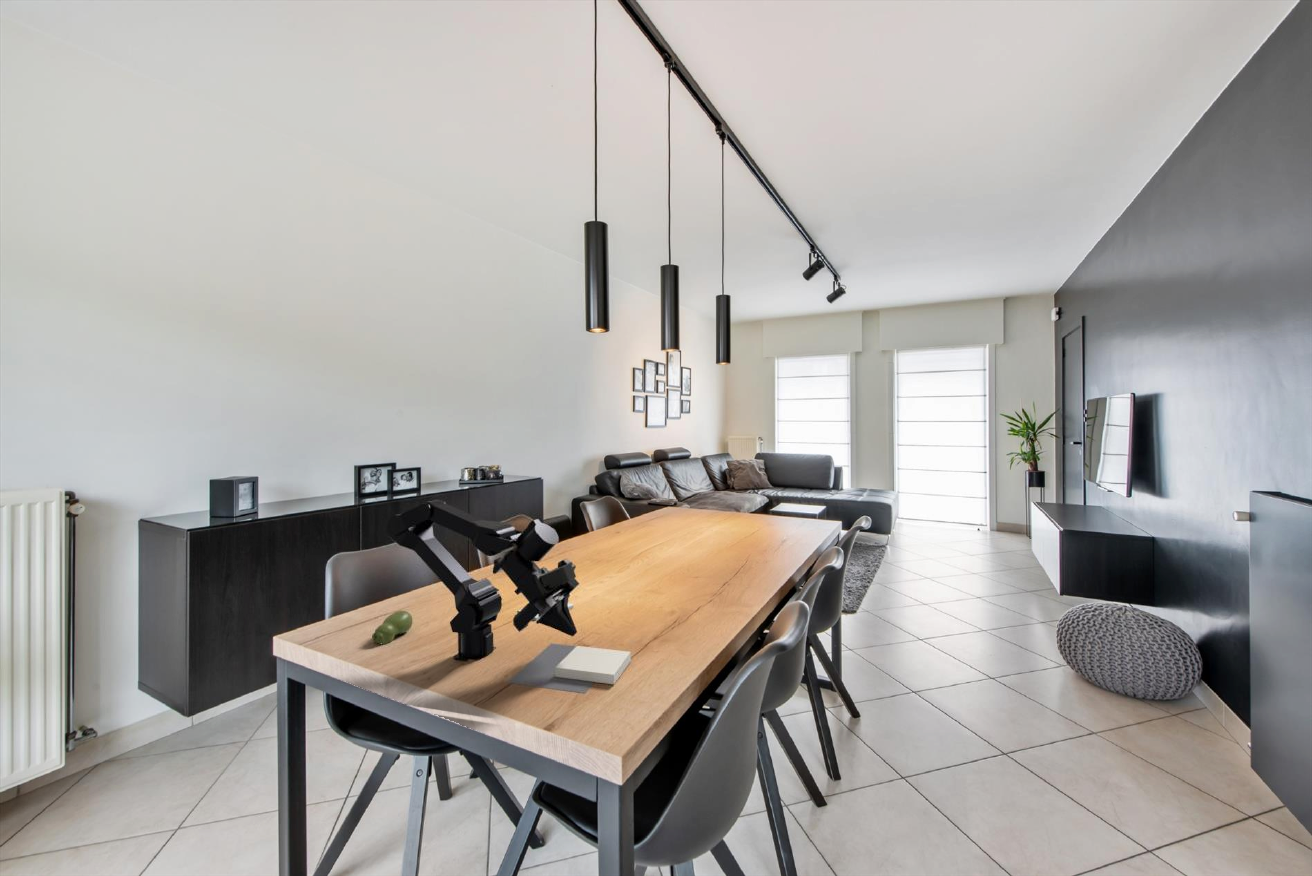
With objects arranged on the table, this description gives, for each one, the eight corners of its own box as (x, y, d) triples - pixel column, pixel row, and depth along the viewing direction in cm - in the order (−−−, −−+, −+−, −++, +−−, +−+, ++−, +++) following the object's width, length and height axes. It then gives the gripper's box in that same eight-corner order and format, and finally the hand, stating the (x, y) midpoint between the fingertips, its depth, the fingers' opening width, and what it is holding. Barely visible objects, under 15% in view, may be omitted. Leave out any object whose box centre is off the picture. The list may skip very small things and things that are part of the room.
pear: (416, 607, 121) (384, 630, 112) (419, 627, 122) (387, 651, 112) (397, 605, 123) (364, 627, 113) (400, 625, 123) (367, 649, 114)
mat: (506, 685, 94) (506, 682, 94) (551, 646, 111) (551, 643, 111) (585, 696, 90) (585, 693, 90) (618, 653, 107) (618, 651, 107)
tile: (555, 667, 96) (613, 674, 92) (577, 645, 105) (630, 651, 102) (555, 677, 96) (614, 685, 92) (577, 655, 105) (630, 661, 102)
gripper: (527, 561, 92) (582, 627, 89) (571, 540, 110) (617, 594, 107) (490, 599, 94) (542, 664, 92) (538, 572, 112) (583, 626, 110)
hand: (575, 634), depth 100 cm, fingers closed
